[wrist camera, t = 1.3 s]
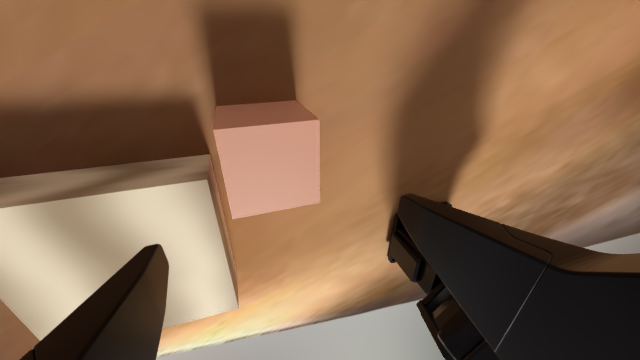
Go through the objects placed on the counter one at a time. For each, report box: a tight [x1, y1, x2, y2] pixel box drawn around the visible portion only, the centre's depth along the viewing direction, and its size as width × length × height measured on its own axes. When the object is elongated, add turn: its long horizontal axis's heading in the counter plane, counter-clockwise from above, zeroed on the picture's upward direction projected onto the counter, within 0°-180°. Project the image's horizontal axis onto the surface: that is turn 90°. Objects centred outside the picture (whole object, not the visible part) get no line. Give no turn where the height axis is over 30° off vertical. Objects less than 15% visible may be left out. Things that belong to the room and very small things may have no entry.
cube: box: [213, 100, 320, 219], centre depth 15 cm, size 5×5×5 cm
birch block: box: [0, 154, 239, 341], centre depth 16 cm, size 11×11×4 cm
